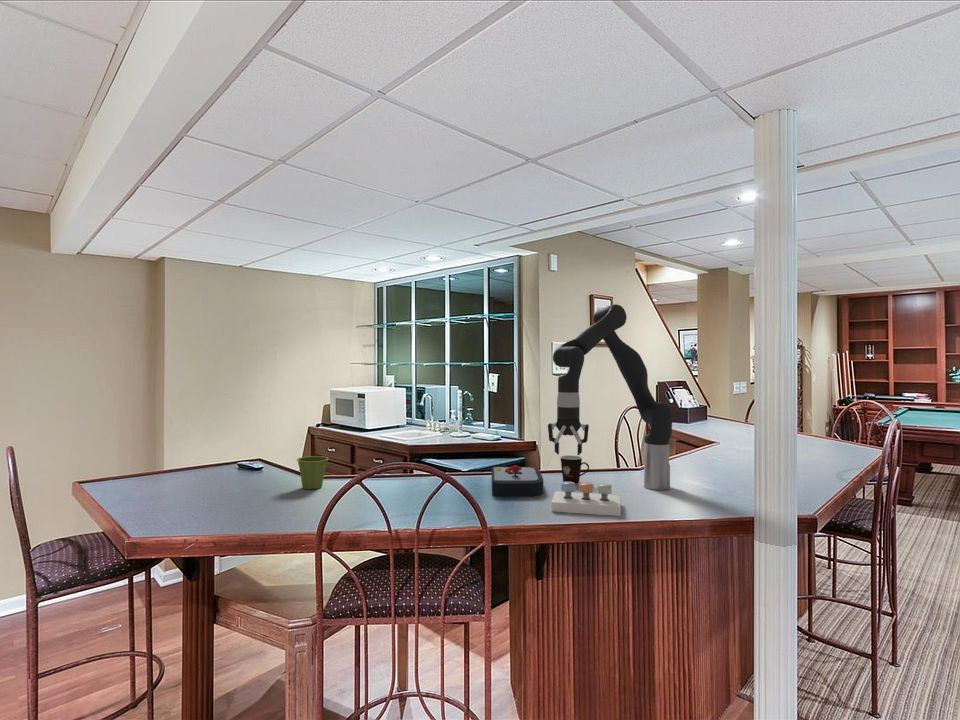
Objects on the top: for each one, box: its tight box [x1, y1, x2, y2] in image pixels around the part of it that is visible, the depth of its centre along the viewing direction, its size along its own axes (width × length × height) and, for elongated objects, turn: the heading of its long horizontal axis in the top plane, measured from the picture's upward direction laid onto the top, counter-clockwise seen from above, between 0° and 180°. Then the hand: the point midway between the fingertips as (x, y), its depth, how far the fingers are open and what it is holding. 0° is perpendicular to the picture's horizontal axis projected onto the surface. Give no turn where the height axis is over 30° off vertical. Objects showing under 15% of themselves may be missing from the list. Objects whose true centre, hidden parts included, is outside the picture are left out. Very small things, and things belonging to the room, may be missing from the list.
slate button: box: [560, 481, 576, 499], centre depth 179 cm, size 5×5×6 cm
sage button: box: [596, 483, 612, 501], centre depth 176 cm, size 5×5×6 cm
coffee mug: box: [559, 454, 590, 485], centre depth 212 cm, size 12×9×10 cm
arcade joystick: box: [491, 464, 544, 498], centre depth 205 cm, size 28×19×10 cm
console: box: [551, 491, 622, 517], centre depth 177 cm, size 22×14×3 cm, turn 77°
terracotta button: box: [578, 482, 594, 500], centre depth 177 cm, size 5×5×6 cm
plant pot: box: [296, 455, 329, 490], centre depth 204 cm, size 12×12×11 cm
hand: (568, 454), depth 179 cm, fingers open, 6 cm apart
